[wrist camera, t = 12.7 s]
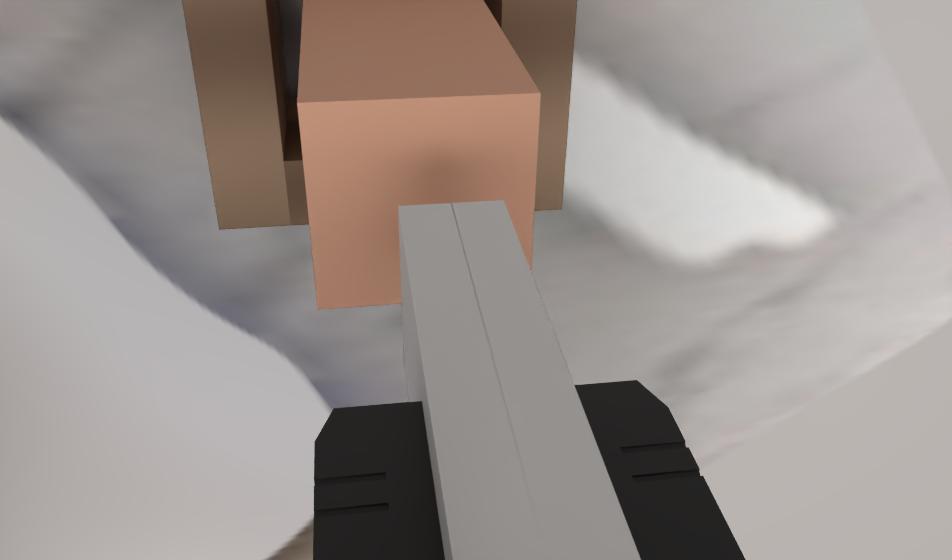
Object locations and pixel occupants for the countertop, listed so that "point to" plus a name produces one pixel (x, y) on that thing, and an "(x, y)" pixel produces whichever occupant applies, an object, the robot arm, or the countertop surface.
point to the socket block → (276, 115)
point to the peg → (406, 131)
